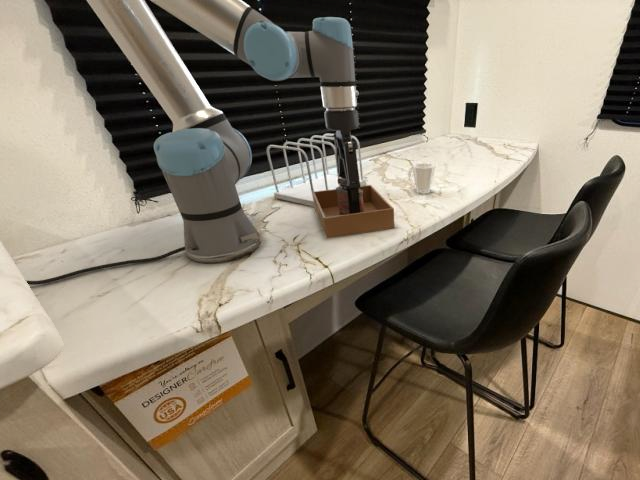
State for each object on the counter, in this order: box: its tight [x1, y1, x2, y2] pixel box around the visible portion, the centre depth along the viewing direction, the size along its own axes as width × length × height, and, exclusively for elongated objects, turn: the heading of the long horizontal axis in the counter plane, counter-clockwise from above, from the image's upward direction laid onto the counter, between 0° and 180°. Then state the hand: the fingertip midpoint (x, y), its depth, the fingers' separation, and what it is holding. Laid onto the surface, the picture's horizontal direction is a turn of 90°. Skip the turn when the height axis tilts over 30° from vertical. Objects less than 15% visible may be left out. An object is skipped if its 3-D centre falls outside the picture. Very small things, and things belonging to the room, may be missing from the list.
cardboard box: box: [312, 184, 395, 239], centre depth 86 cm, size 17×21×5 cm
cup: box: [408, 162, 436, 195], centre depth 104 cm, size 7×10×8 cm
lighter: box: [336, 178, 364, 215], centre depth 85 cm, size 8×3×10 cm, turn 58°
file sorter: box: [266, 133, 367, 208], centre depth 102 cm, size 25×17×16 cm
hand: (351, 207), depth 86 cm, fingers open, 8 cm apart
